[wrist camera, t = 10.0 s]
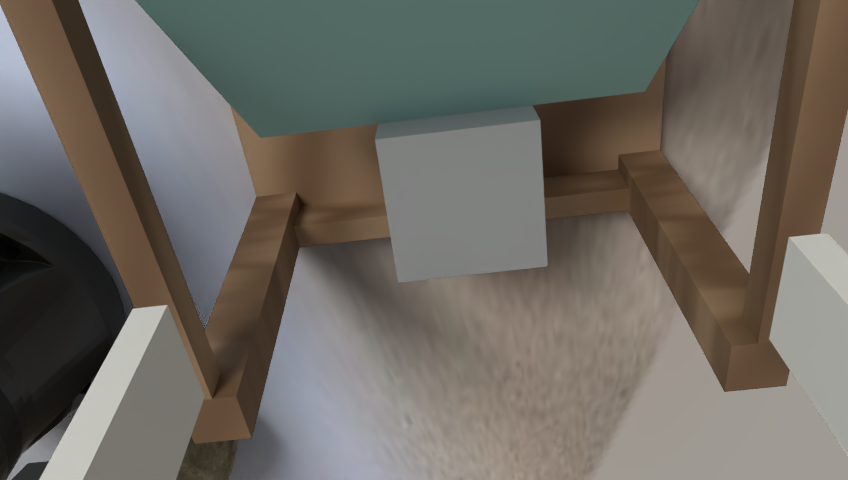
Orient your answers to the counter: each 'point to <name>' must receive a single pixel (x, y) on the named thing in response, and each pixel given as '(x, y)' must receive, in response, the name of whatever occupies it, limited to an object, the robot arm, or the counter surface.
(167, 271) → the frame
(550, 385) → the counter surface
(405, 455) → the counter surface
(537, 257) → the gray cube
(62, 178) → the counter surface
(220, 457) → the stone
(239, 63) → the trapdoor
